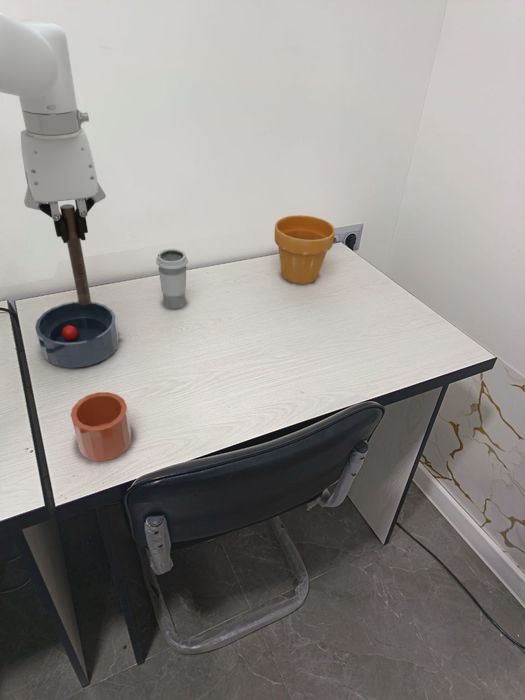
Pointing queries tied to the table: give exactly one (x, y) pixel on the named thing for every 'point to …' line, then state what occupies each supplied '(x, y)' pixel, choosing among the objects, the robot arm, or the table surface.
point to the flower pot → (303, 246)
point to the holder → (101, 426)
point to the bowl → (92, 338)
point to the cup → (172, 277)
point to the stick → (76, 254)
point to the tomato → (69, 333)
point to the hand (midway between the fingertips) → (72, 237)
